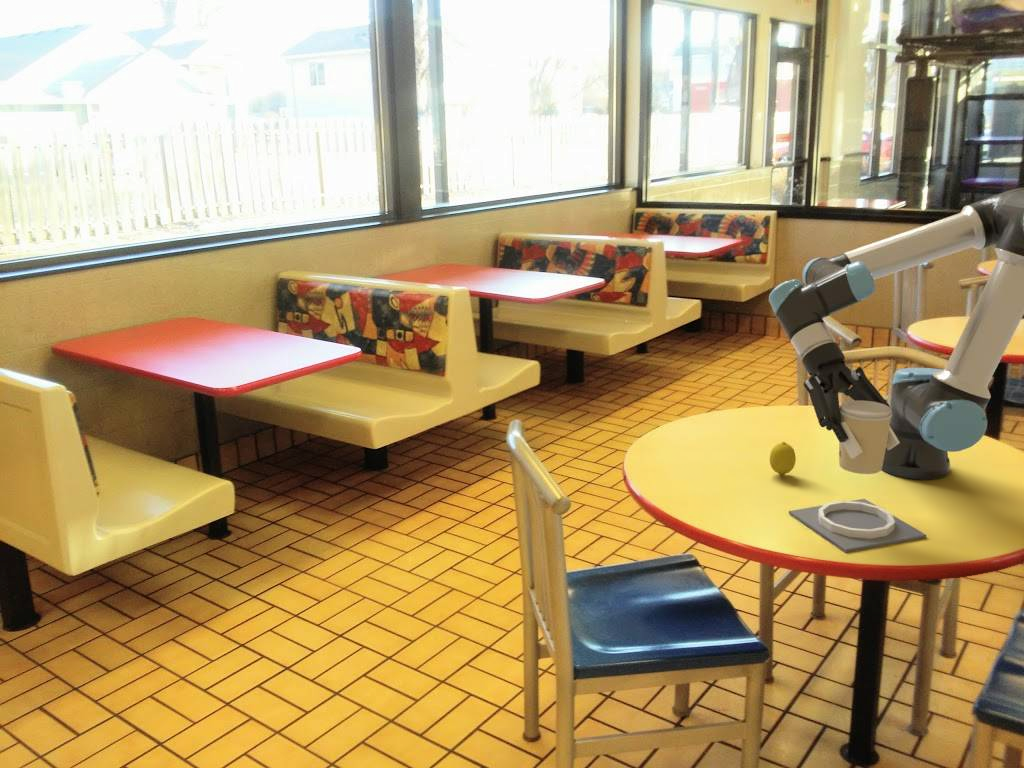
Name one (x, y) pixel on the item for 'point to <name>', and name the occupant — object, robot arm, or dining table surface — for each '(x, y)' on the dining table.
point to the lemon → (782, 458)
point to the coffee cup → (865, 435)
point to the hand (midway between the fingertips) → (875, 450)
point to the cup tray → (856, 525)
